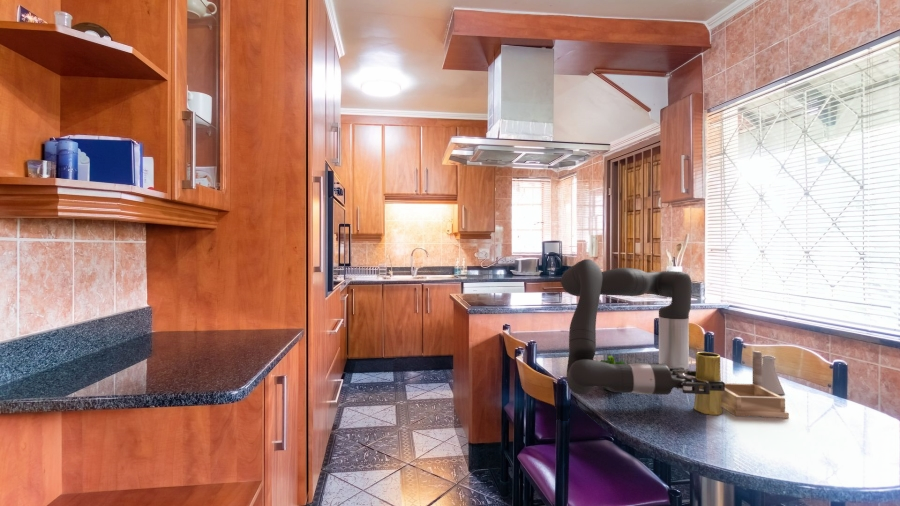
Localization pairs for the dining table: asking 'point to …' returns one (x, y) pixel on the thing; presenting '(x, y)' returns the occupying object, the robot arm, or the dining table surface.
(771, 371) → the flask
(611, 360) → the bell pepper
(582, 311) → the robot arm
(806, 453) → the dining table surface
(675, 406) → the dining table surface
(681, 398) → the dining table surface
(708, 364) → the vase
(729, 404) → the stand
